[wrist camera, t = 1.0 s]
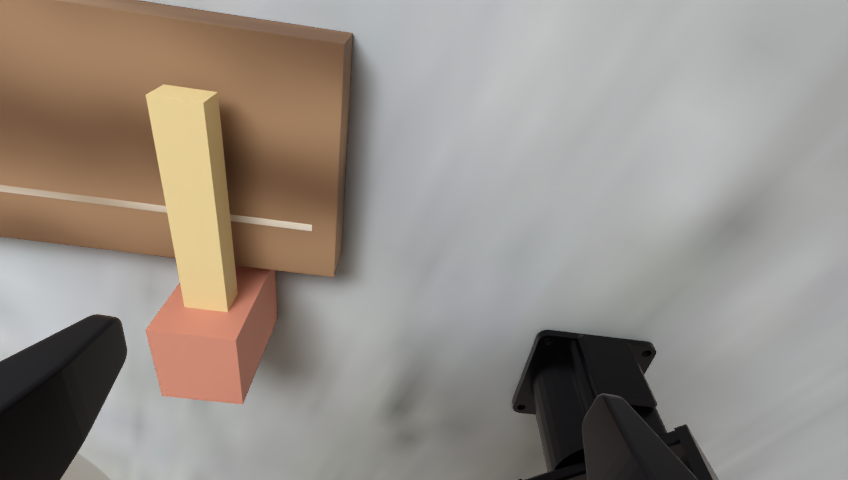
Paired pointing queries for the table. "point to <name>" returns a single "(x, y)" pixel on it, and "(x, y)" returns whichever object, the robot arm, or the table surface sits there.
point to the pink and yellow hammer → (204, 261)
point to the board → (133, 138)
